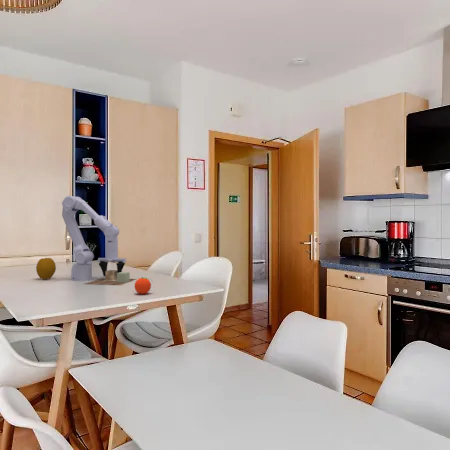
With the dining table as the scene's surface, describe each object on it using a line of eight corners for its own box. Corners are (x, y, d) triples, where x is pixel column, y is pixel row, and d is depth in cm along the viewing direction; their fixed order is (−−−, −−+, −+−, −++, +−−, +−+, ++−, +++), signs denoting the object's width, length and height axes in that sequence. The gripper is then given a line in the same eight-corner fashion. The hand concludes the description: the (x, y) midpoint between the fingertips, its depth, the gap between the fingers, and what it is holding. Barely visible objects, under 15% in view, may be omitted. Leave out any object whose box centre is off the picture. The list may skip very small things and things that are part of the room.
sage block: (117, 282, 199) (117, 273, 199) (121, 280, 204) (121, 271, 204) (125, 282, 198) (125, 273, 198) (129, 281, 203) (129, 272, 203)
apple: (51, 280, 212) (50, 258, 211) (32, 280, 212) (32, 258, 212) (59, 277, 221) (58, 256, 221) (41, 277, 222) (41, 256, 221)
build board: (82, 286, 194) (82, 283, 194) (103, 279, 214) (103, 277, 214) (120, 287, 191) (120, 285, 191) (137, 280, 210) (137, 278, 210)
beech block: (105, 280, 206) (105, 271, 206) (109, 278, 210) (109, 270, 210) (113, 280, 205) (113, 271, 205) (118, 279, 209) (117, 270, 209)
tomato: (150, 291, 180) (150, 275, 180) (155, 294, 174) (155, 277, 174) (132, 293, 176) (132, 276, 176) (136, 296, 170) (136, 279, 170)
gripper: (94, 250, 205) (95, 277, 205) (121, 250, 202) (121, 277, 202) (101, 249, 212) (101, 275, 212) (127, 249, 209) (128, 275, 209)
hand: (112, 276), depth 208 cm, fingers open, 7 cm apart
